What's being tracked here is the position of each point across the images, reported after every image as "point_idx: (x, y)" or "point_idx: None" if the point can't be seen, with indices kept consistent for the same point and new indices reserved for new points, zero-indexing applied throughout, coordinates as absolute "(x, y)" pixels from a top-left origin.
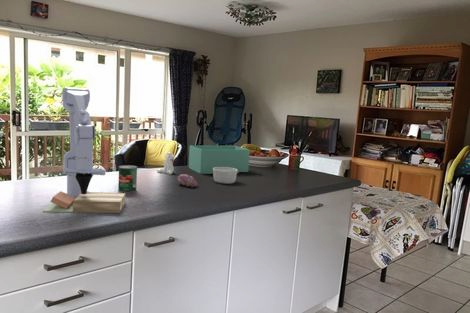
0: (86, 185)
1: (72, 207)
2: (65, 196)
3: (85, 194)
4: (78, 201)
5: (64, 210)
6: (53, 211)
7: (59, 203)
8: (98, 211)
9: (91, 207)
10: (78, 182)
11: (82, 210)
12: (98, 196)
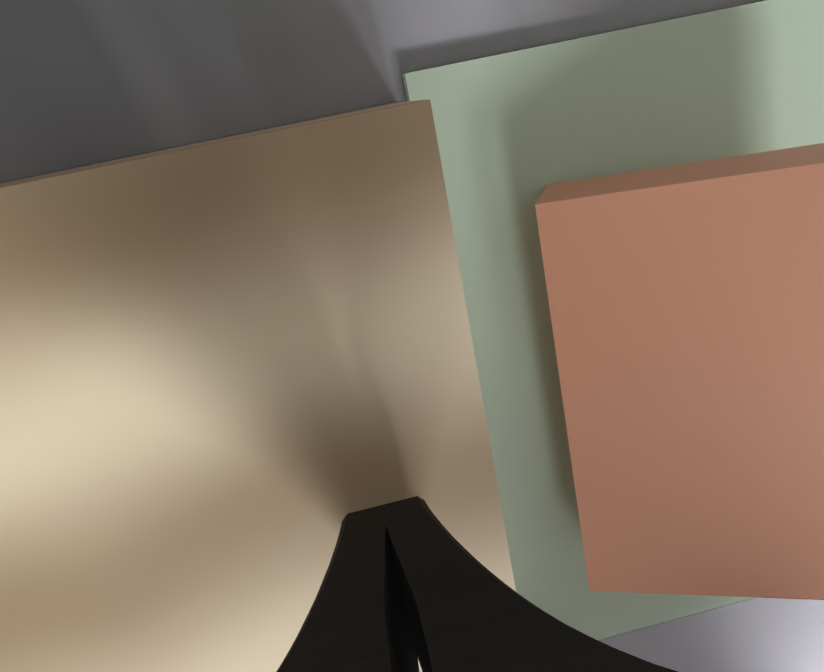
0: (304, 644)
1: (497, 299)
2: (729, 469)
3: None
4: (311, 123)
5: (543, 90)
6: (692, 15)
7: (702, 169)
8: None
9: (61, 172)
10: (564, 629)
11: (239, 134)
12: (117, 609)
